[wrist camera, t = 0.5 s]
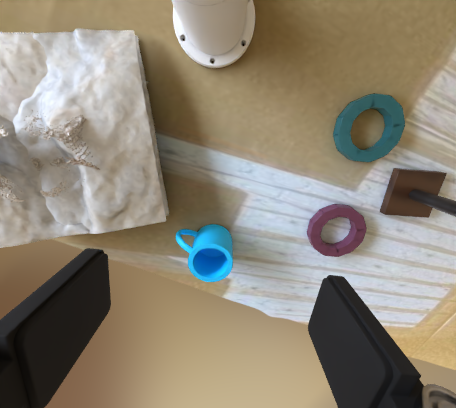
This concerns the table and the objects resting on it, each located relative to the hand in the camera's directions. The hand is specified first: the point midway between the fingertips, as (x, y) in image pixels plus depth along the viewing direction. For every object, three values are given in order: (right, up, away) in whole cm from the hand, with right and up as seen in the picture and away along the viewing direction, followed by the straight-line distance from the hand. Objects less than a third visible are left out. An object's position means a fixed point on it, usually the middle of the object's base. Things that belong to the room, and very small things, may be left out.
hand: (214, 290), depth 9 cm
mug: (-4, -3, +37) cm, 38 cm away
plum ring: (+23, -2, +36) cm, 43 cm away
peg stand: (+37, +6, +33) cm, 50 cm away
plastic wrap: (-29, +15, +31) cm, 45 cm away
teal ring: (+25, +17, +30) cm, 43 cm away
